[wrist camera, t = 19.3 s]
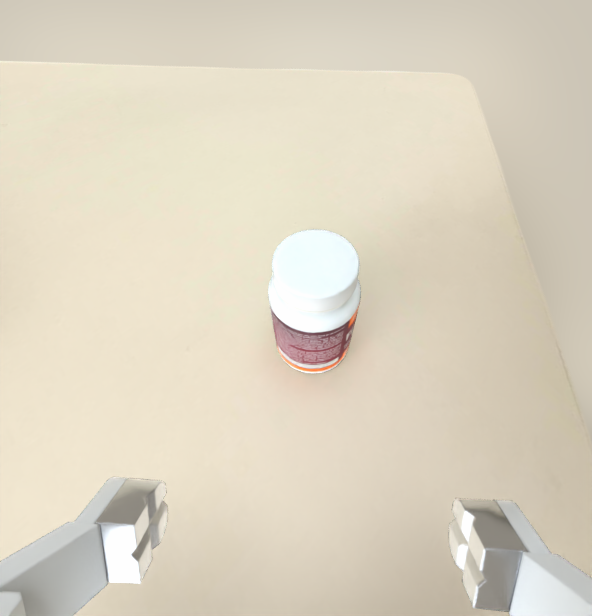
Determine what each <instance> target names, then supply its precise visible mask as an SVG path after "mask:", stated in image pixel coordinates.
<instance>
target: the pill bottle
mask: <svg viewBox="0 0 592 616" xmlns="http://www.w3.org/2000/svg"><path fill="white" fill-rule="evenodd" d="M359 266H360V263H359V257H358V254H357V252H356V250H355V248H354V247H353V245H352V244H351V243H350V242H349V241H348V240H346V239H345V238H344V237H342V236H340V235H338V234H336V233H334V232H331V231H326V230H320V229H311V230H304V231H300V232H297V233H295V234H293V235H291V236H289V237H287V238H286V239H285V240H283V241H282V242H281V243H280V244H279V246H278V247H277V248H276V250H275V253H274V255H273V259H272V272H273V275H272V277H271V280H270V282H269V287H268V297H269V303H270V309H271V315H272V320H273V326H274V332H275V338H276V345H277V349H278V351H279V354H280V356H281V357H282V359H283V360H284V361H285V362H286V363H287V364H288V365H289V366H291V367H292V368H294V369H296V370H298V371H300V372H304V373H323V372H326V371H329V370H331V369H333V368H334V367H336V366H337V365H338V364H339V363H340V362H341V361H342V360H343V358H344V357H345V355H346V353H347V351H348V348H349V344H350V340H351V337H352V332H353V329H354V324H355V320H356V316H357V312H358V308H359V304H360V298H361V287H360V283H359V280H358V274H359Z"/></svg>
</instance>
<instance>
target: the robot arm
mask: <svg viewBox="0 0 592 616" xmlns="http://www.w3.org/2000/svg"><path fill="white" fill-rule="evenodd" d="M166 493H167V491H166V483H165V482H164V481H160V480H148V479H137V478H121V477H112V478H110V479H108V480H107V481H106V483H105V484H104V485H103V486H102V488H101V489H100V490H99V491H98V493H97V494H96V495H95V496H94V498H93V499H92V500H91V501H90V503H89V504H88V505H87V506H86V508H85V509H84V510H83V511H82V513H81V514H80V515H79V516H78V518H77V519H76V520H75V521H74V522H68V523H66V524H64V525H62V526H61V527H59V528H57V529H55V530H54V531H52V532H50V533H48V534H47V535H45V536H43V537H42V538H40V539H38V540H36V541H35V542H33V543H31V544H29V545H28V546H26V547H24V548H22V549H21V550H19V551H17V552H16V553H14V554H12V555H10V556H9V557H7V558H5V559H3V560H2V561H0V616H73V615H74V614H76V613H77V612H78V611H79V610H80V609H81V608H82V607H83V606H84V605H85V604H87V603H88V602H89V601H90V600H91V599H92V598H93V597H94V596H95V595H96V594H98V593H99V592H100V591H101V590H102V589H103V588H104V587H105V586H106V585H107V584H108V582H117V583H141V582H142V580H143V577H144V575H145V573H146V571H147V569H148V567H149V565H150V563H151V561H152V549H154V548H155V547H156V546H157V545H159V544H160V542H161V540H162V538H163V536H164V533H165V529H166V526H167V521H168V506H167V504H166V503H165V502H164V501H163V499H164V497H165V495H166ZM452 512H453V514H454V516H455V519H454V520H453V521H452V522H451V523H450V524H449V532H448V536H449V546H450V550H451V554H452V557H453V559H454V562H455V564H456V565H457V566H458V567H459V568H460V569H461V570H462V571H463V578H462V582H463V585H464V587H465V589H466V592H467V594H468V597H469V599H470V602H471V604H472V607H473V608H477V609H486V610H496V611H505V612H509V614H510V615H511V616H592V578H591V577H590V576H588V575H587V574H585V573H584V572H583V571H581V570H580V569H578V568H577V567H575V566H574V565H572V564H571V563H570V562H568V561H567V560H565V559H564V558H562V557H561V556H560V555H558V554H552V553H551V552H550V551H549V549H548V548H547V546H546V545H545V544H544V542H543V541H542V539H541V538H540V536H539V535H538V534H537V532H536V531H535V529H534V528H533V527H532V525H531V524H530V522H529V521H528V520H527V518H526V517H525V515H524V514H523V512H522V511H521V510H520V508H519V507H518V505H517V504H516V503H515V502H513V501H509V500H480V499H461V498H455V500H454V502H453V505H452Z"/></svg>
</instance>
